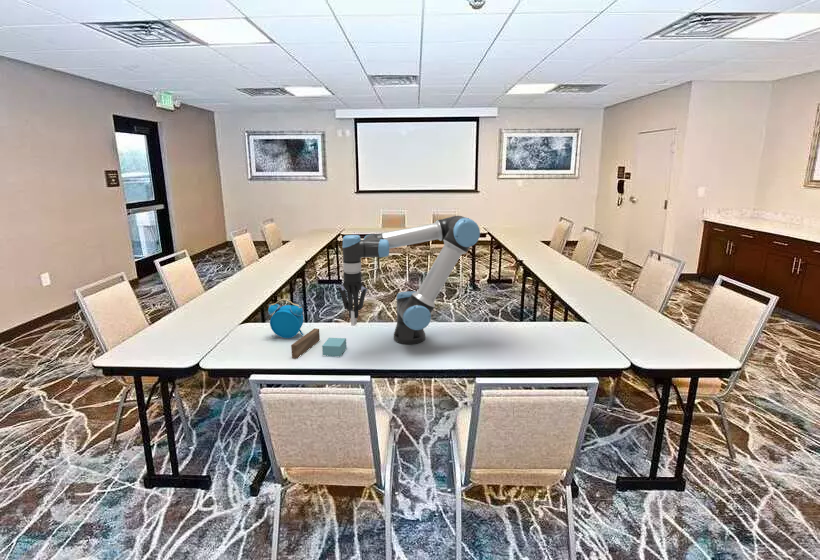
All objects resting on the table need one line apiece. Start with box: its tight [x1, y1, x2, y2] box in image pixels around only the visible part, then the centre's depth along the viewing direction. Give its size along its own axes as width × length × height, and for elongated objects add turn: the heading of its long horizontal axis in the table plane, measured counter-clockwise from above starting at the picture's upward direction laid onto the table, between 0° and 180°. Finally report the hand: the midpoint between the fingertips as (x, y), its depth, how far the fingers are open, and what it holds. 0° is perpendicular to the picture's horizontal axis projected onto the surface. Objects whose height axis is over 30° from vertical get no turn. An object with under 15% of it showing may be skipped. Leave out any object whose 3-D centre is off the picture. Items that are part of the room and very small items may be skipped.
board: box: [290, 328, 321, 359], centre depth 214 cm, size 2×22×6 cm, turn 165°
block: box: [321, 337, 347, 357], centre depth 211 cm, size 8×10×5 cm
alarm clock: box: [267, 298, 304, 339], centre depth 228 cm, size 17×10×20 cm, turn 84°
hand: (353, 324), depth 205 cm, fingers closed
